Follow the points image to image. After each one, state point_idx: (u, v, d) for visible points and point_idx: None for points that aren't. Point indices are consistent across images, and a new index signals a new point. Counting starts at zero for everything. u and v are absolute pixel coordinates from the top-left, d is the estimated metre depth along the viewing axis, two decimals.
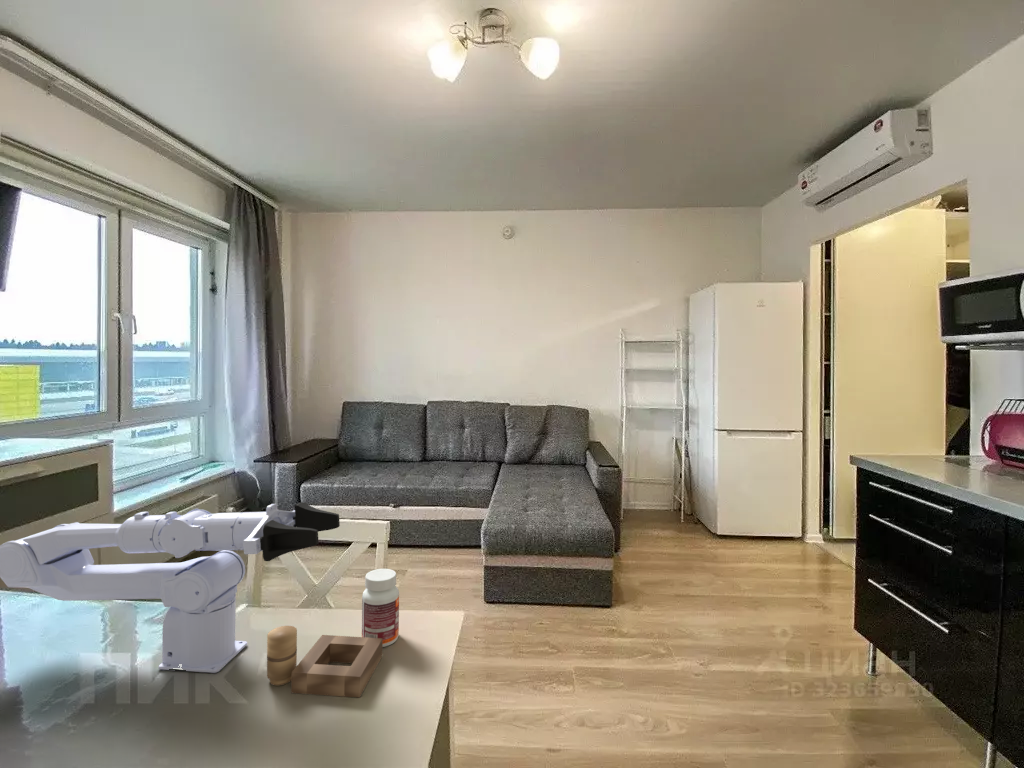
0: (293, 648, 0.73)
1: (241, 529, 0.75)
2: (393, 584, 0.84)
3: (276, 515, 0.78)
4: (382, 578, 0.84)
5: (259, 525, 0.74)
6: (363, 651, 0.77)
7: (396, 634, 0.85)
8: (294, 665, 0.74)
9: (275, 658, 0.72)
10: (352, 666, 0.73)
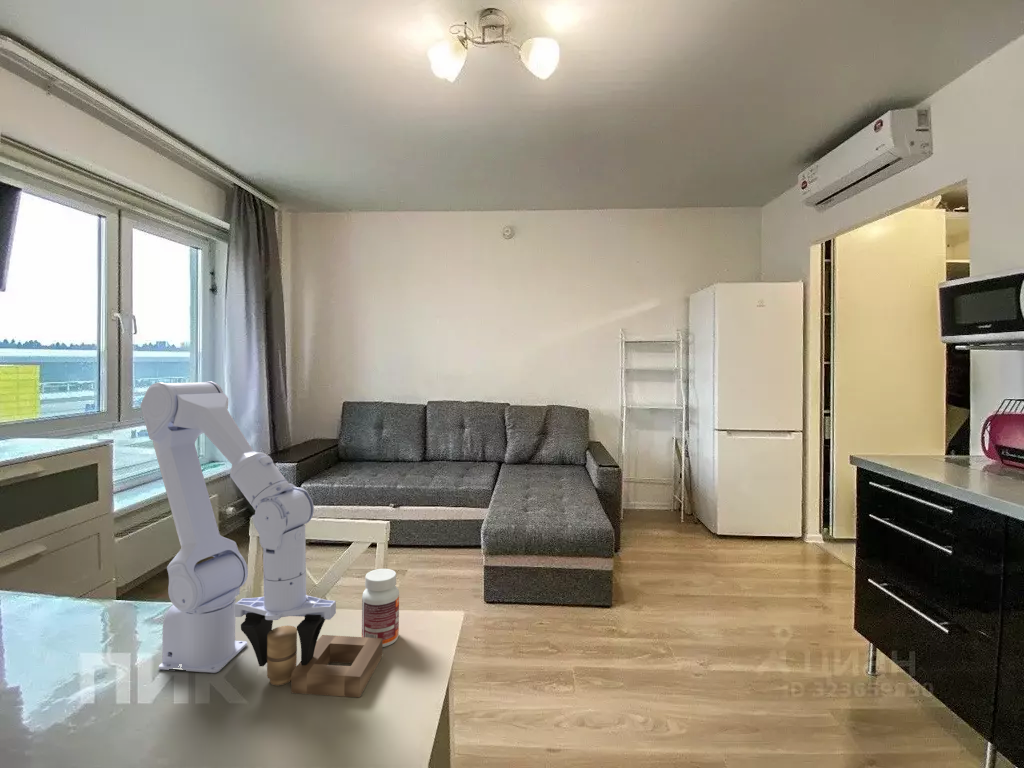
0: (293, 647, 0.73)
1: None
2: (393, 584, 0.84)
3: None
4: (382, 578, 0.84)
5: (254, 610, 0.72)
6: (363, 651, 0.77)
7: (396, 634, 0.85)
8: (294, 665, 0.74)
9: (275, 658, 0.72)
10: (352, 666, 0.73)
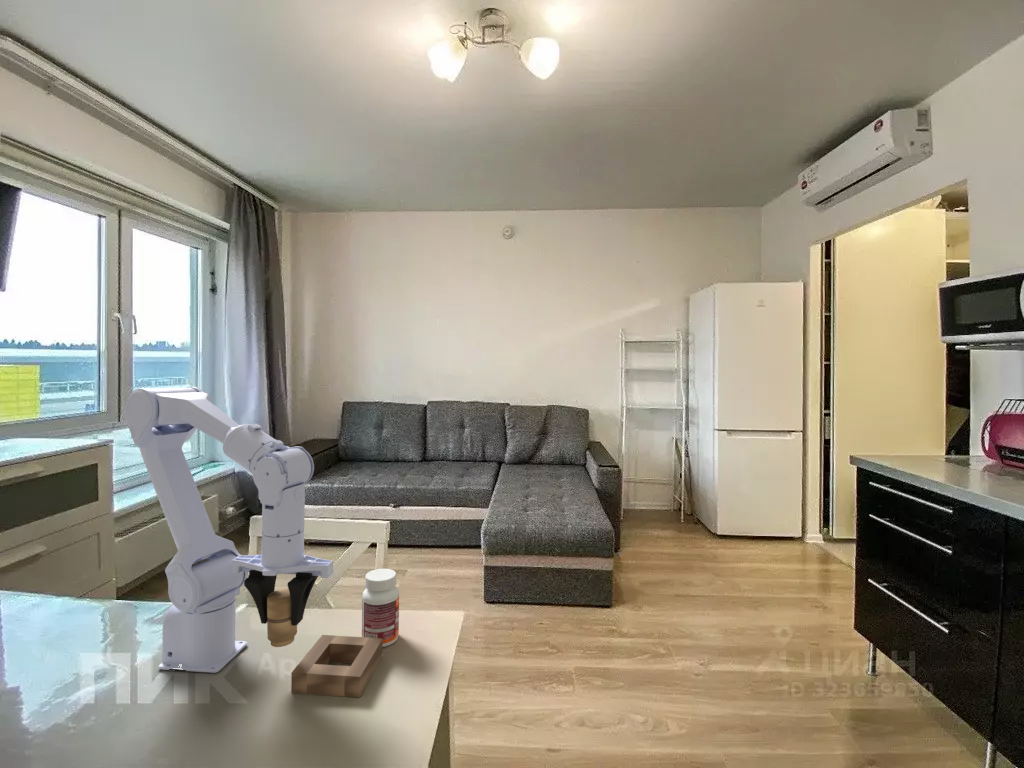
0: None
1: None
2: (393, 584, 0.84)
3: None
4: (382, 578, 0.84)
5: (252, 566, 0.72)
6: (363, 651, 0.77)
7: (396, 634, 0.85)
8: (294, 627, 0.74)
9: (275, 619, 0.72)
10: (352, 666, 0.73)
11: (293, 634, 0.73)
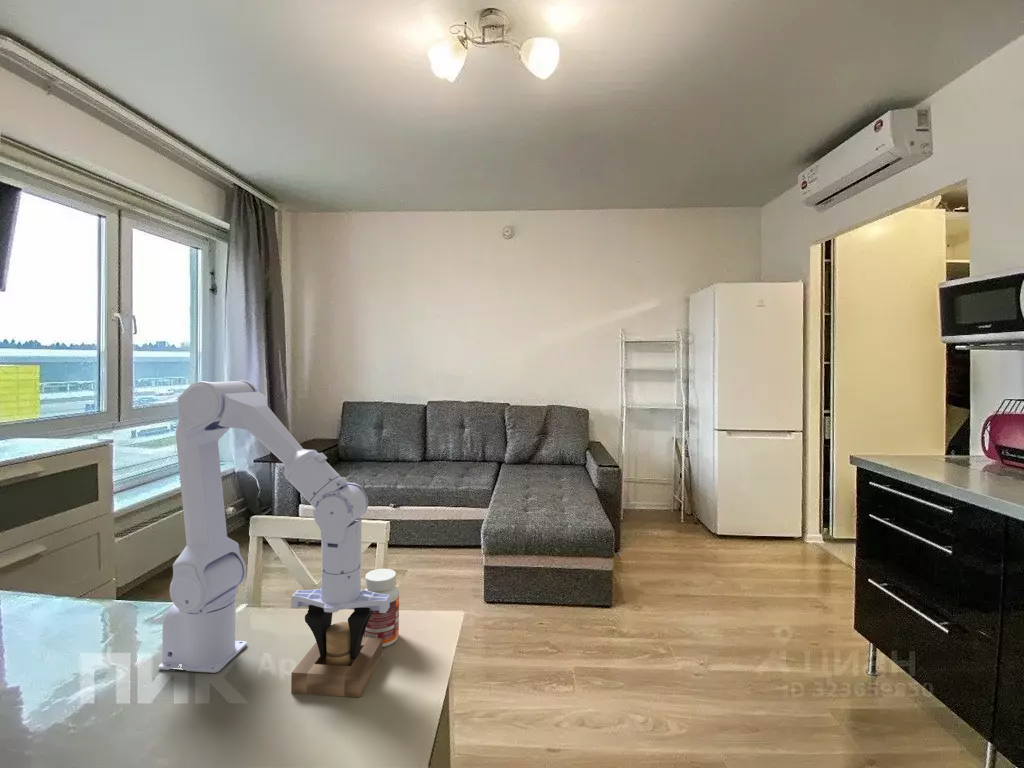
0: None
1: (321, 577, 0.74)
2: (393, 584, 0.84)
3: None
4: (382, 578, 0.84)
5: (312, 602, 0.74)
6: (363, 651, 0.77)
7: (396, 634, 0.85)
8: (352, 660, 0.75)
9: (334, 653, 0.74)
10: (352, 666, 0.73)
11: None
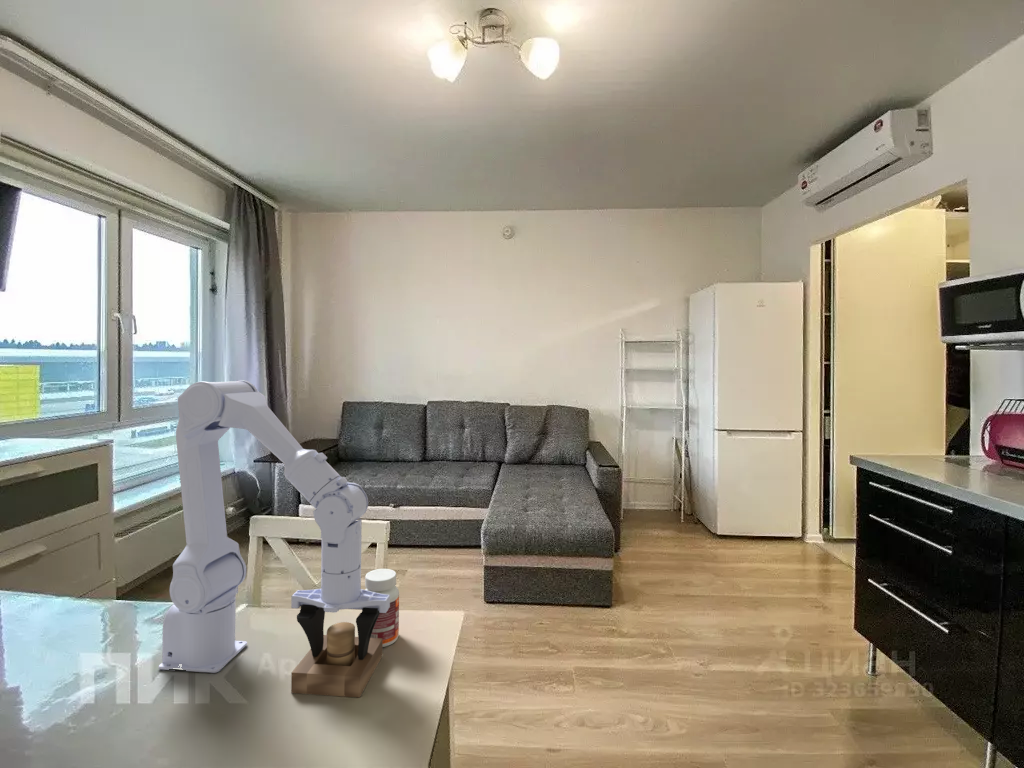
0: (352, 644, 0.75)
1: (321, 577, 0.74)
2: (393, 584, 0.84)
3: None
4: (382, 578, 0.84)
5: (312, 602, 0.74)
6: None
7: (396, 634, 0.85)
8: (353, 661, 0.75)
9: (335, 653, 0.74)
10: (352, 666, 0.73)
11: None
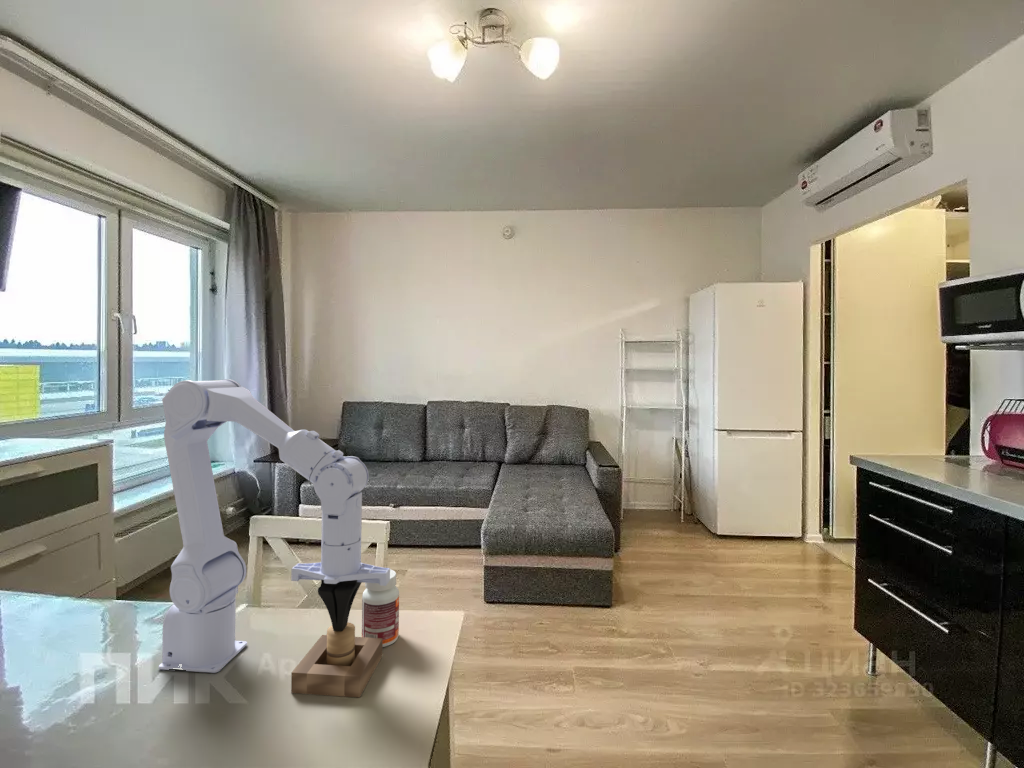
0: (352, 644, 0.75)
1: (321, 549, 0.74)
2: (393, 584, 0.84)
3: None
4: None
5: (312, 574, 0.73)
6: (363, 651, 0.77)
7: (396, 634, 0.85)
8: (353, 661, 0.75)
9: (335, 653, 0.74)
10: (352, 666, 0.73)
11: None
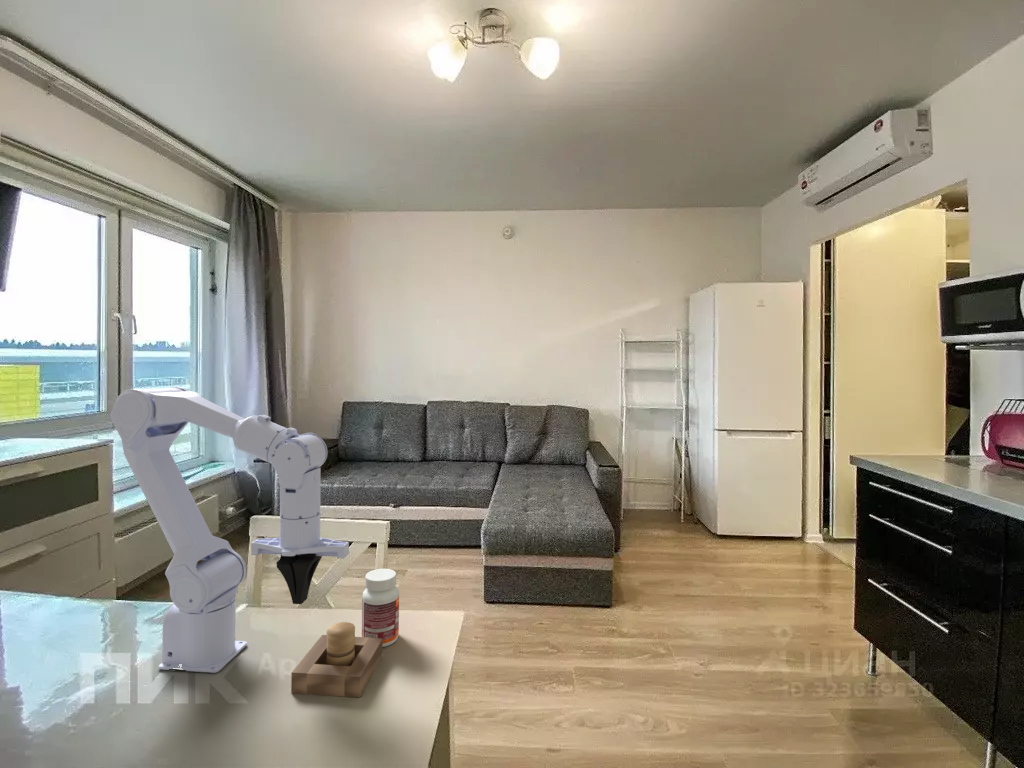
0: (352, 644, 0.75)
1: None
2: (393, 584, 0.84)
3: None
4: (382, 578, 0.84)
5: (271, 548, 0.75)
6: (363, 651, 0.77)
7: (396, 634, 0.85)
8: (353, 661, 0.75)
9: (335, 653, 0.74)
10: (352, 666, 0.73)
11: None
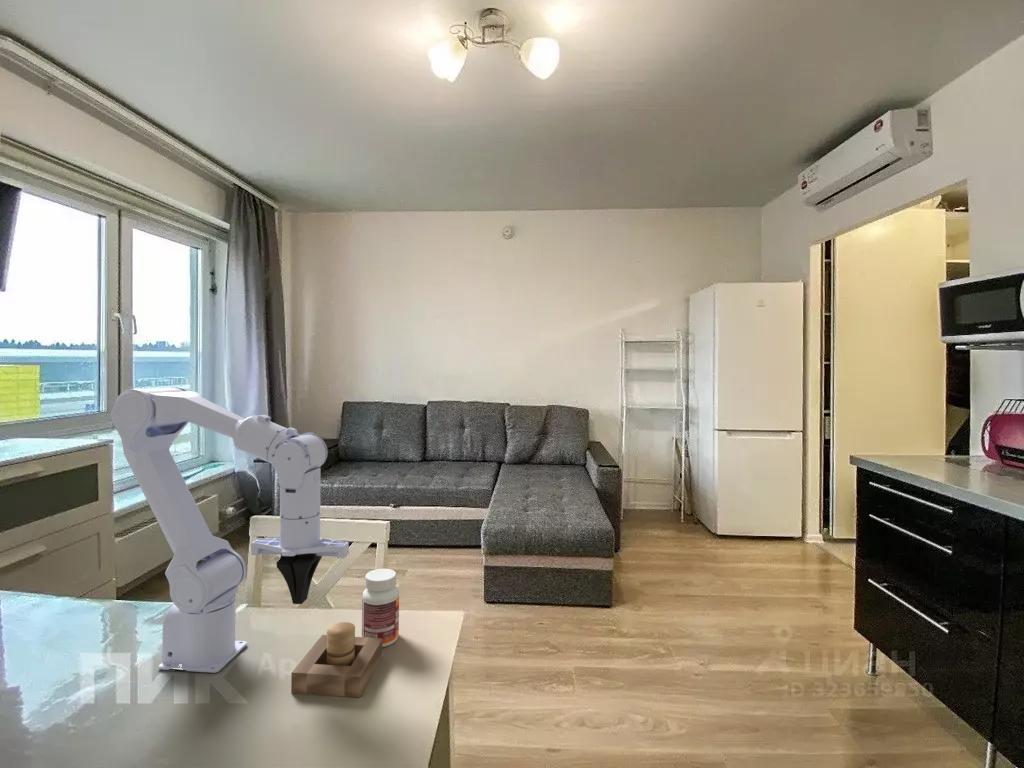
0: (352, 644, 0.75)
1: None
2: (393, 584, 0.84)
3: None
4: (382, 578, 0.84)
5: (271, 548, 0.75)
6: (363, 651, 0.77)
7: (396, 634, 0.85)
8: (353, 661, 0.75)
9: (335, 653, 0.74)
10: (352, 666, 0.73)
11: None
